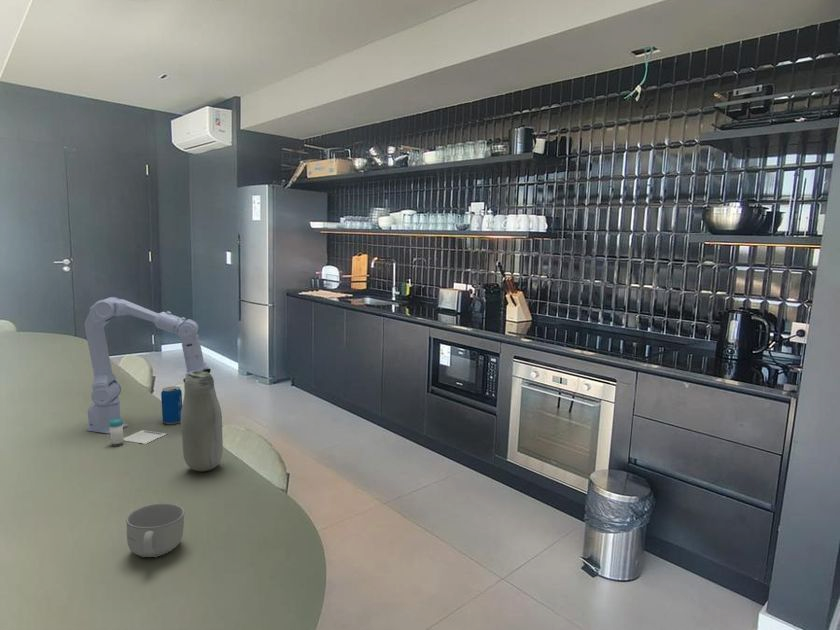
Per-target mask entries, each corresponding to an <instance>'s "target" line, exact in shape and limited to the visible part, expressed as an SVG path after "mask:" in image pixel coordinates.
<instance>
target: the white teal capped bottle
mask: <svg viewBox="0 0 840 630" xmlns="http://www.w3.org/2000/svg"><path fill="white" fill-rule="evenodd" d="M122 424H124V421H123V418H122V417H121V418H114V419H111V420H109V426H110V433H109V436H110V437H109V439H110V444H111V446H112V447H115V448H116V447H121V446H122V445H124V444H123V442H125V441H124V439H123V438H124V429H123V425H122Z"/></svg>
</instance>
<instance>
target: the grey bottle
mask: <svg viewBox="0 0 840 630" xmlns="http://www.w3.org/2000/svg"><path fill="white" fill-rule="evenodd" d="M184 379H185V382H184V381H183V384H184V385H183V387H184V394H183V399H182V410H181V422H180V429H181V442H182V454H183V456H182V457H183V459H184V462H185V464H186V465H187V466H188V467H189V468H190V469H191V470H193V471H196V472H207V471H211V470H213V469H215V468H217V466H218V465H219V464H220V462H221V459H222V456H223V450H224V447H223V444H224V443H223V442H224V441H223V440H224V439H223V414H222V409H221V405H220V402H219V399H218V397H217V392H216V389H215V382H214V381H215V379H214V377H213V375H212V374H211V372H210V373H208V372H206V371H193V372H191V373H189V374H188V375H187V376H186V375H185V378H184Z"/></svg>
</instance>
